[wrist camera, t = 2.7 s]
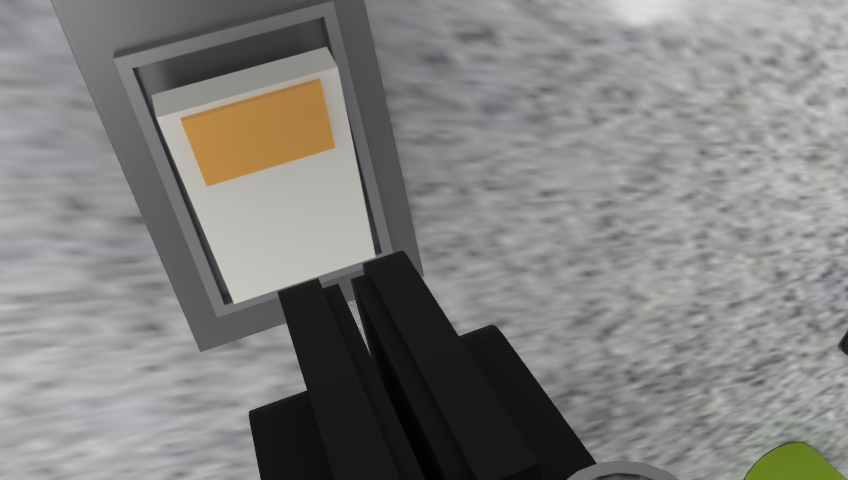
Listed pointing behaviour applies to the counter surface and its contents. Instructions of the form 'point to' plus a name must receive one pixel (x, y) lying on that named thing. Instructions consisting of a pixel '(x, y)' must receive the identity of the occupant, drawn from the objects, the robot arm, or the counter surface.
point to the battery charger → (845, 347)
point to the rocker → (270, 171)
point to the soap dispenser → (793, 465)
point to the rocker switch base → (212, 57)
